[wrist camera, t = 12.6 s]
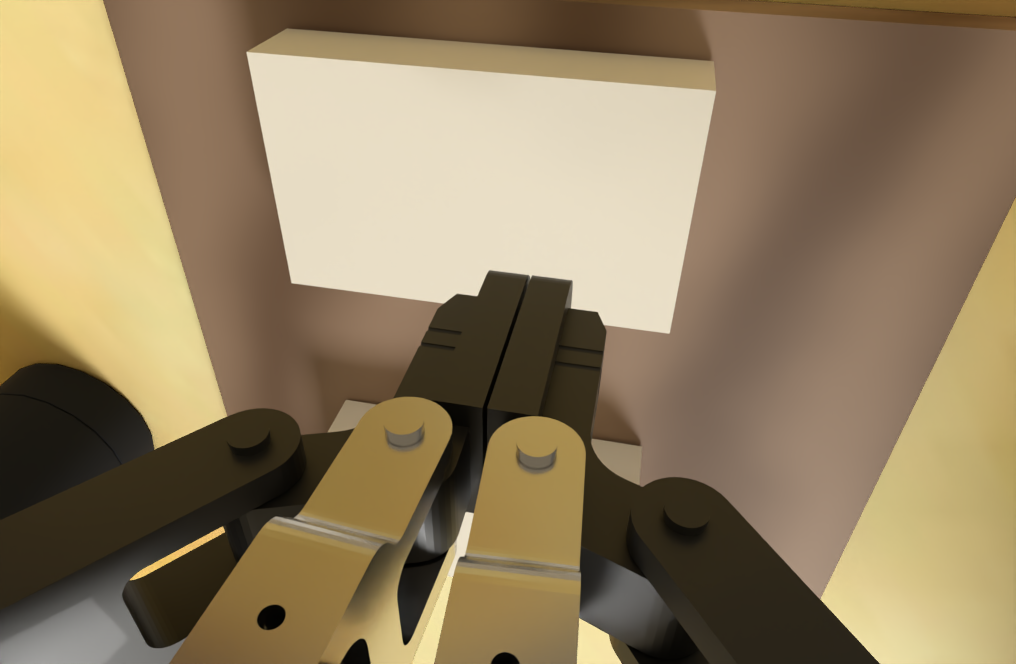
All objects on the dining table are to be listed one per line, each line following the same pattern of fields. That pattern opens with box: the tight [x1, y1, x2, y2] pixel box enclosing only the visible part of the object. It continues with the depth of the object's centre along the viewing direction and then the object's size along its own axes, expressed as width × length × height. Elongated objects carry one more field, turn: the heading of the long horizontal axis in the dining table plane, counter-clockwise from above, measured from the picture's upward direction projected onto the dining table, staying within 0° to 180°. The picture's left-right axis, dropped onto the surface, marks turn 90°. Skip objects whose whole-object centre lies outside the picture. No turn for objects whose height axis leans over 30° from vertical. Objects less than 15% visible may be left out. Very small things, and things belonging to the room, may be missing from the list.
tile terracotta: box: [246, 28, 716, 334], centre depth 18 cm, size 2×6×10 cm
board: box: [103, 0, 1016, 599], centre depth 22 cm, size 22×20×1 cm
